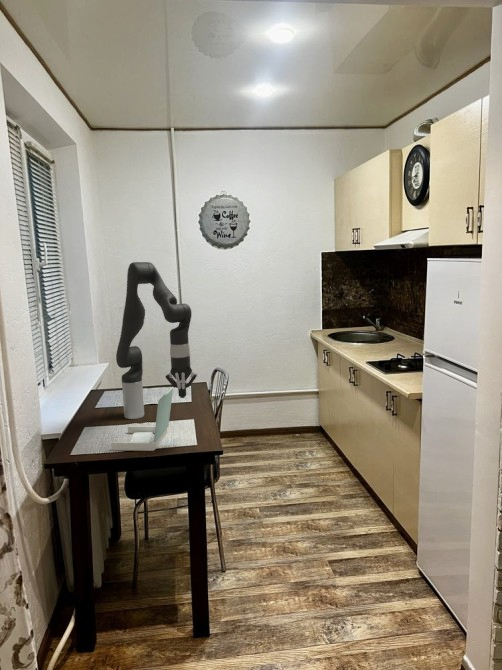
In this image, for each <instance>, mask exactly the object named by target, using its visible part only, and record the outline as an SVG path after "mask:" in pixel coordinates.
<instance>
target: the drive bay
mask: <svg viewBox="0 0 502 670" xmlns="http://www.w3.org/2000/svg"><path fill="white" fill-rule="evenodd" d="M155 426H156V425H127V434H133V433H137V432H153V433H155ZM167 434H168V428H167V429H166V430H165V431H164V433H163V434H162V435H161V436H160V438H159V439H158V440H157V441H156V443H155V442H154V439H153V440H151V442H130V441H111V442H110V447H111V451H149V452H151V451H152V452H154V451H155V450H156V449H157V447H158V446H159V445H160V444H161V442H162V441H163V440H164V438H166V437H165V436H166V435H167Z"/></svg>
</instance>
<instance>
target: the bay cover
mask: <svg viewBox="0 0 502 670" xmlns="http://www.w3.org/2000/svg"><path fill="white" fill-rule="evenodd" d="M173 393H174V387H171V388H169V389H168V391H166V392H165V394H163V395H162V396H161V397H160V399H158V401H157V403H158V404H157V410H156V418H155V419H156V420H155V425H154V426H155V434H153V435H154V437H153V440H154V442H155V443H156V441H157V440H158V439H159V438H160V436H161V435H162V434H163V433H164V431H165V430H166V429H167V430H168V427H169V424H170V416H171V407H172V398H173Z"/></svg>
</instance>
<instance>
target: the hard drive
mask: <svg viewBox="0 0 502 670" xmlns="http://www.w3.org/2000/svg"><path fill="white" fill-rule="evenodd" d="M153 435H154V434H153V432H137V433H132V435H131V437H130V440H129V442H152V439H153Z"/></svg>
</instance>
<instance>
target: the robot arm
mask: <svg viewBox="0 0 502 670" xmlns="http://www.w3.org/2000/svg"><path fill="white" fill-rule="evenodd" d="M126 277H127V278H126V293H125V294H126V295H125V302H124V309H123V313H122V314H123V316H122V323H121V331H120V338H119V341H118V345H117V349H116V352H115V353H116V355H115V359H116V364H117V366H118V367H119V368H121V369H126V368H129V370H128V371H126V372H125V373H124V374H122V375H121V385H122V386H121V388H122V403H123V415H124V416H123V417H124V418H125V419H128V420H136V419H141V418H143V417H144V416H145V405H144V390H143V389H144V388H143V374H144V373H143V353H142V350H141V348H140V347H139V346H137V345H132V342H133V340H134V339H135V338H136V336H137V335H138V334H139V333H140V331H141V330H142V328H143V326H144V324H145V316H146V309H145V307H144V305H143V302H142V301H141V298H140V297H139V294H138V290H139V289H138V287H139V285H145V284H147V285H149V284H150V285H151V286H153V288H152V297H153V299H154V301H155V302H156V303H157V304H158V305H159V307H160V308H161V310H162V314H163V318H164V319H165V321H166V322H168V323H170V324H174V323H179V324H178V325H177V327H174V328H171V330H169V343H170V344H169V345H170V348H169V349H170V350H169V351H170V352H169V355H170V370H169V373H167V374H166V375H165V377H164V378H165V379H166V380H167V381H168V383H169V384H171V386H172V388H173V389H174V388H176V389H178V391H177V392H178V397H179V398H180V399H184V398H186V397H187V388H190V386H191V385H192V384H193V382H194V381H195V380H196V378H197V377H198V374H197V373H195V372H194V371H193V370H192V368H191V353H190V352H191V351H190V345H189V330H190V326H191V325H190V324H191V321H192V320H191V319H192V308H191V306H190V305H189V304H187V303H178V299H177V298H176V296H175V294H173V293H172V292H171V291H172V290H170V289H169V287H167V285H166V283H165V282H164V280H163V278H162V276H161V274H160V273H159V271H158V269H157V267H156V266H155V265H154V264H153V262H149V261H141V262H140V261H134V262H131V263H130V264H129V265H128V269H127V276H126ZM131 345H132V346H131ZM189 377H190V379H189ZM188 379H189V381H188ZM187 381H188V382H187Z"/></svg>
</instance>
